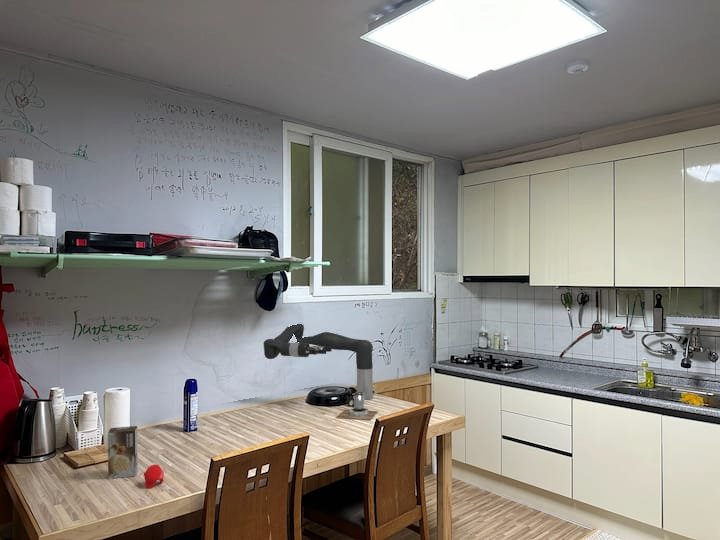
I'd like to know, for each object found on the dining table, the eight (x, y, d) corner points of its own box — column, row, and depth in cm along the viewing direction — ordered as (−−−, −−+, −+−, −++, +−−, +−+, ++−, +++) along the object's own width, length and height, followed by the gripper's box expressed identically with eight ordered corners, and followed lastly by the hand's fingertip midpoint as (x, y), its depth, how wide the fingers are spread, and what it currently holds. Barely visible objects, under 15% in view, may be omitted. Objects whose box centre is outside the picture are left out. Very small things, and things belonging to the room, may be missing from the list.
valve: (357, 403, 281) (345, 408, 271) (357, 391, 282) (345, 395, 271) (367, 405, 278) (355, 409, 268) (367, 393, 278) (355, 397, 268)
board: (344, 411, 265) (344, 409, 265) (378, 413, 260) (378, 411, 260) (334, 420, 247) (334, 418, 247) (370, 422, 243) (370, 420, 243)
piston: (355, 413, 256) (355, 391, 256) (364, 413, 255) (364, 391, 255) (353, 415, 252) (353, 393, 252) (362, 416, 251) (362, 393, 251)
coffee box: (138, 469, 183) (138, 425, 184) (135, 476, 177) (136, 430, 177) (110, 472, 181) (110, 427, 181) (107, 479, 174) (107, 432, 175)
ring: (352, 411, 259) (352, 406, 259) (370, 412, 257) (370, 408, 257) (347, 416, 250) (347, 411, 250) (366, 417, 248) (365, 412, 248)
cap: (147, 469, 174) (139, 466, 169) (164, 463, 175) (156, 459, 170) (149, 493, 170) (141, 490, 165) (166, 487, 171) (158, 483, 166)
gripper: (294, 344, 259) (324, 345, 255) (304, 341, 273) (332, 341, 269) (294, 358, 259) (324, 359, 255) (304, 354, 273) (333, 355, 269)
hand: (328, 350), depth 262 cm, fingers open, 8 cm apart
